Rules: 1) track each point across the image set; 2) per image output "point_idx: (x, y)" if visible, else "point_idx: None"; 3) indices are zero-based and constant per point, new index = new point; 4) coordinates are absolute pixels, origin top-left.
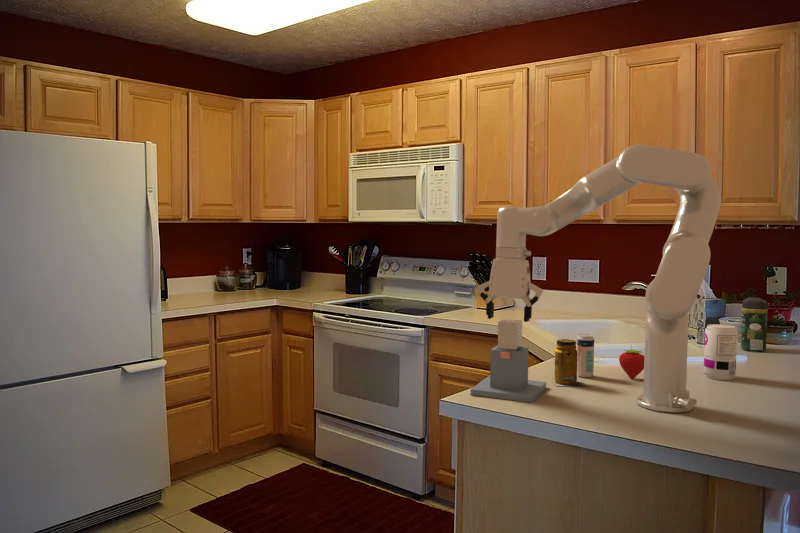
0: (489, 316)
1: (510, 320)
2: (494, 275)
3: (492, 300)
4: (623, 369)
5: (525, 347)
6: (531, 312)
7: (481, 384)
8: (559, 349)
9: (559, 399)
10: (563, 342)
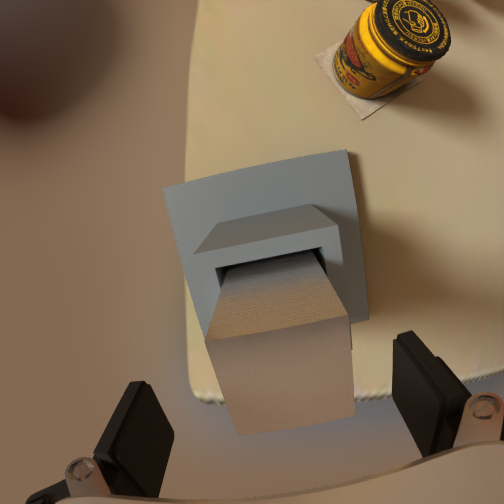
0: (168, 444)
1: (273, 358)
2: None
3: (109, 482)
4: None
5: (333, 250)
6: (453, 375)
7: (202, 295)
8: (394, 60)
9: (409, 245)
10: (425, 56)
